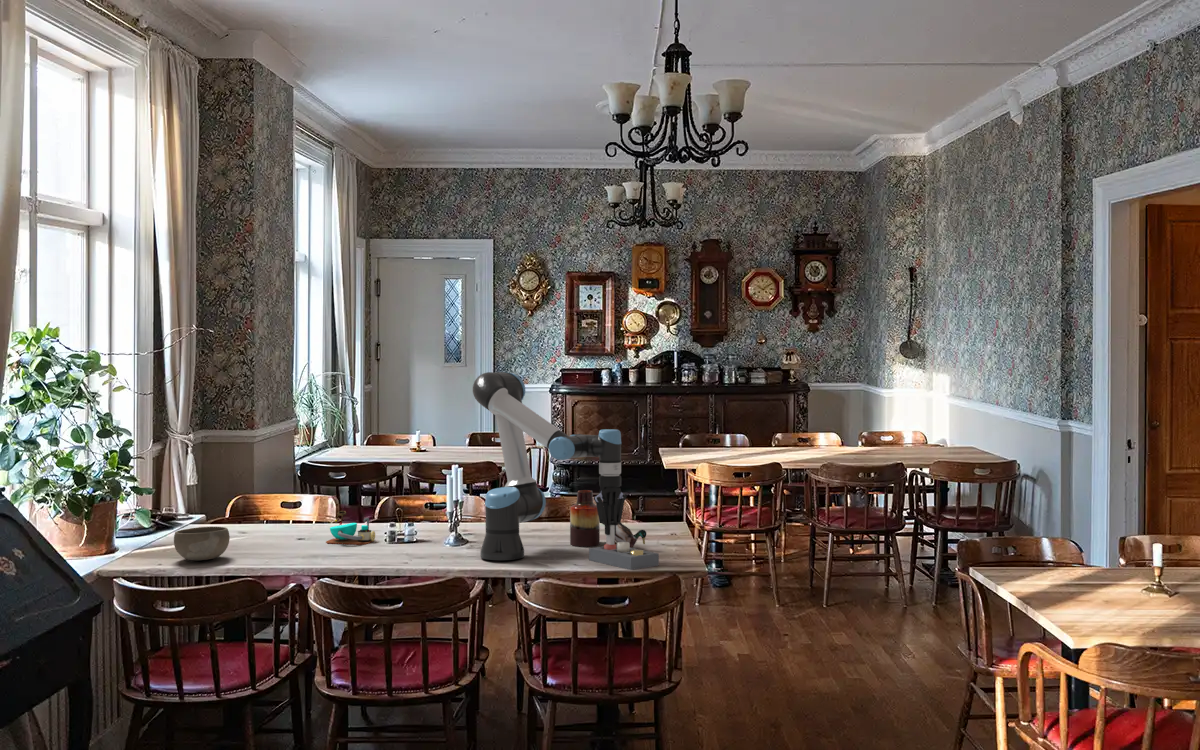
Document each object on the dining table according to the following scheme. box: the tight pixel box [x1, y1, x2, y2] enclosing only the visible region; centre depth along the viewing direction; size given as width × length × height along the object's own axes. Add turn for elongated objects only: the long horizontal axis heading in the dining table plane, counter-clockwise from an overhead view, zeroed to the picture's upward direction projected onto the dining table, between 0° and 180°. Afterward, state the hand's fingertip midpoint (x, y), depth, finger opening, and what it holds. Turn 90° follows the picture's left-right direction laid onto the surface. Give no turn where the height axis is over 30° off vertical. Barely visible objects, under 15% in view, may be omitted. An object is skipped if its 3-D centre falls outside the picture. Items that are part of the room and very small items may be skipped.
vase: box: [569, 489, 601, 548], centre depth 375 cm, size 11×11×20 cm
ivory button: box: [616, 542, 630, 553], centre depth 342 cm, size 4×4×4 cm
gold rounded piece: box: [631, 549, 644, 556], centre depth 337 cm, size 4×4×4 cm
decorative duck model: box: [615, 521, 647, 548], centre depth 368 cm, size 15×8×15 cm, turn 60°
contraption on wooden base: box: [325, 510, 376, 546], centre depth 380 cm, size 14×18×15 cm
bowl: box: [173, 526, 231, 561], centre depth 350 cm, size 17×18×10 cm
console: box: [588, 544, 660, 571], centre depth 342 cm, size 12×22×4 cm, turn 39°
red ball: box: [603, 543, 617, 550], centre depth 348 cm, size 4×4×4 cm
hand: (610, 544), depth 348 cm, fingers closed, pressing on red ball
